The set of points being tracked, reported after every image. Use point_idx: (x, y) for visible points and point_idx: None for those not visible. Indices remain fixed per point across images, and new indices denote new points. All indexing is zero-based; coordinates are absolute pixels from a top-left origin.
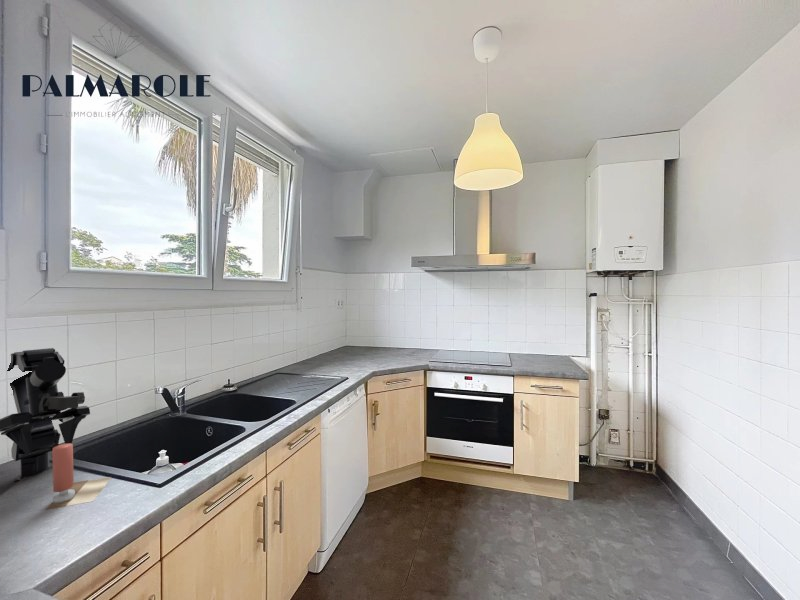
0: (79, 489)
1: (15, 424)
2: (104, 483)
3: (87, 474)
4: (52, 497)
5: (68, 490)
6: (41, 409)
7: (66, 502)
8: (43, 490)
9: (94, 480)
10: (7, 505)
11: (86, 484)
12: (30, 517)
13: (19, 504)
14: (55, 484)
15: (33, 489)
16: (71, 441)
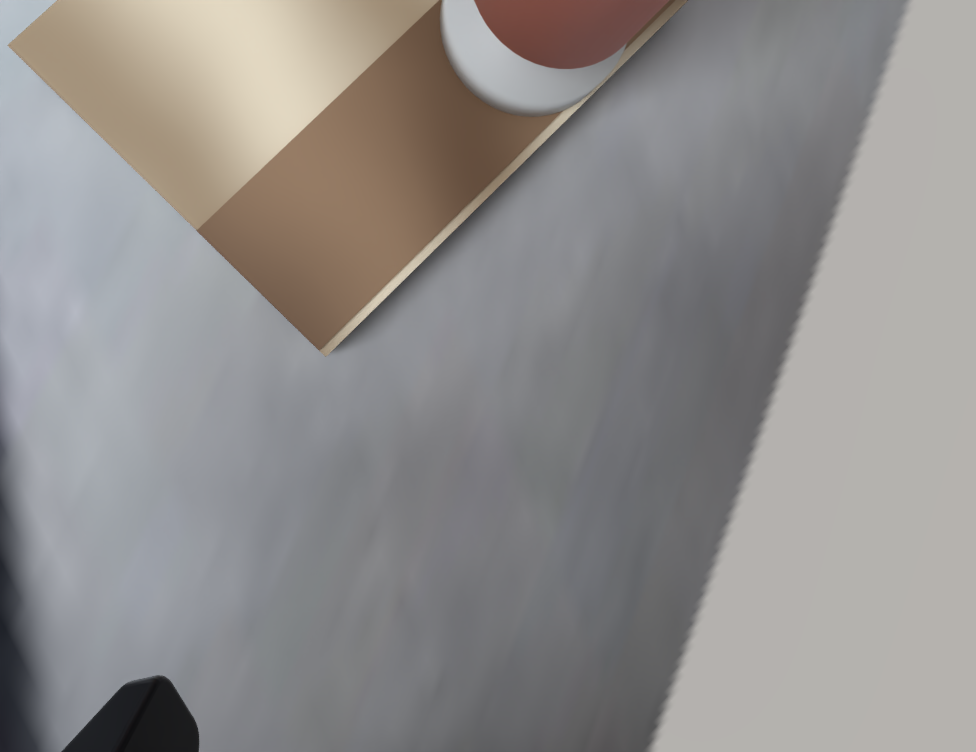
0: (356, 82)
1: None
2: None
3: (60, 548)
4: (623, 48)
5: (480, 40)
6: None
7: None
8: (457, 570)
9: (159, 158)
10: (716, 543)
11: (255, 142)
12: (730, 108)
13: (669, 464)
14: None
15: (488, 687)
16: (93, 737)
